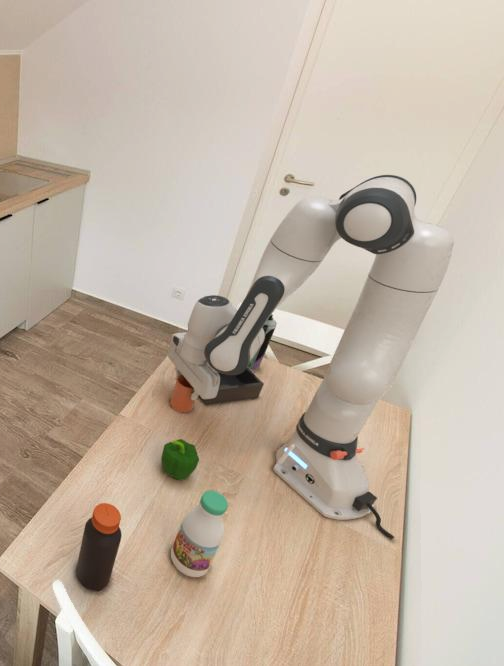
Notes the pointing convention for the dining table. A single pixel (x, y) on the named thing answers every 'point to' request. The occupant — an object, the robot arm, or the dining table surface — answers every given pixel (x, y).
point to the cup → (182, 395)
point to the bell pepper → (179, 459)
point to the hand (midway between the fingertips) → (185, 389)
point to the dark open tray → (236, 388)
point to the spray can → (259, 355)
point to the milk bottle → (200, 535)
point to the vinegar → (99, 547)
